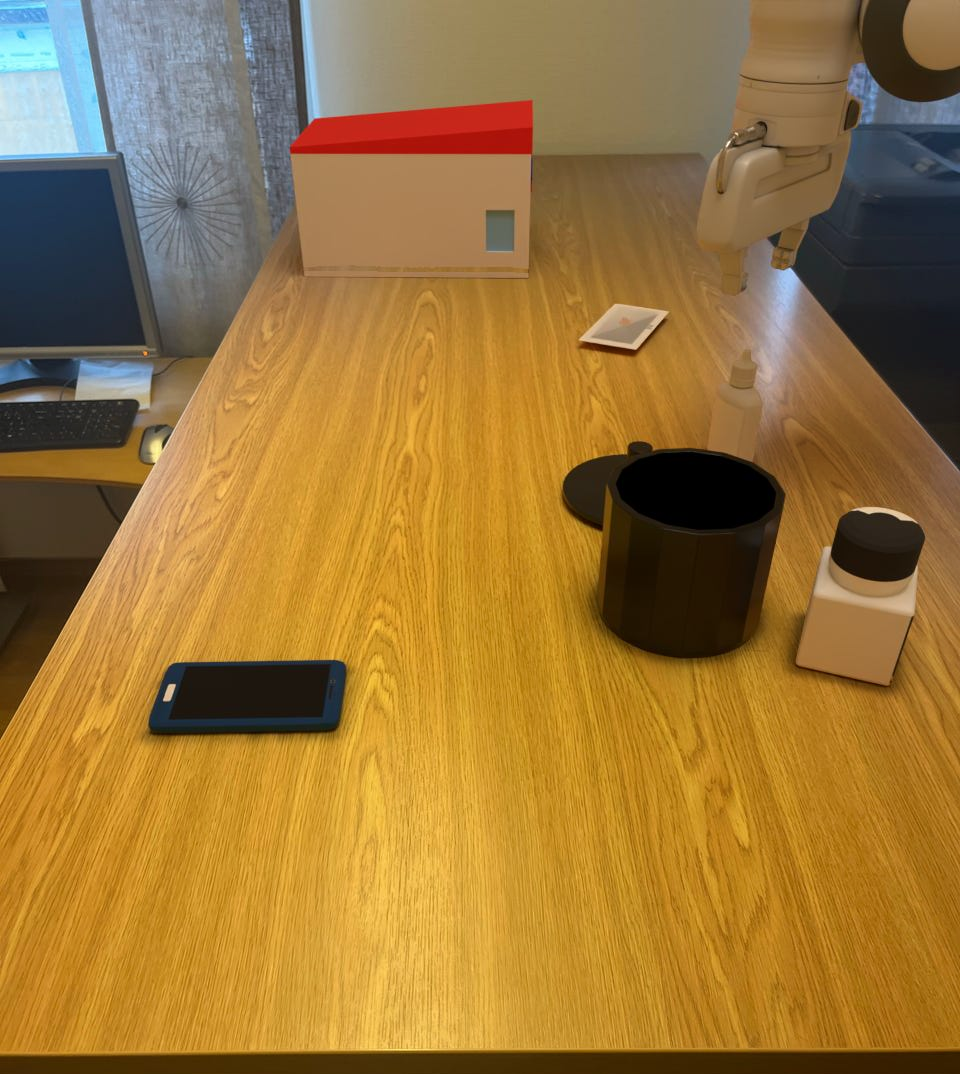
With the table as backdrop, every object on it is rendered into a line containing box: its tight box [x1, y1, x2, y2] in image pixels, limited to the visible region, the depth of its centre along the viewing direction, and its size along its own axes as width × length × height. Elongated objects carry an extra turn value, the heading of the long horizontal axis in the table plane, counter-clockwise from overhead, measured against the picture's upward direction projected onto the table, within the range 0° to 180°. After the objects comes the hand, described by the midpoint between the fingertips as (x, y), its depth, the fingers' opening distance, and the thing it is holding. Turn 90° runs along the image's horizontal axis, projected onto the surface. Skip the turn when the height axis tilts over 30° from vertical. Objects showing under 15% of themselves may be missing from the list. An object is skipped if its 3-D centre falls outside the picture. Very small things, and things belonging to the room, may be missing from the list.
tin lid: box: [561, 440, 654, 527], centre depth 95 cm, size 14×14×6 cm
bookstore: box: [289, 99, 534, 279], centre depth 152 cm, size 21×35×21 cm, turn 88°
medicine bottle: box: [795, 506, 926, 686], centre depth 74 cm, size 7×7×12 cm
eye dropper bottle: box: [706, 348, 764, 463], centre depth 99 cm, size 4×6×12 cm
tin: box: [596, 447, 786, 659], centre depth 79 cm, size 13×13×12 cm
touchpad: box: [578, 303, 670, 351], centre depth 131 cm, size 8×15×2 cm, turn 155°
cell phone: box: [147, 659, 347, 734], centre depth 73 cm, size 7×14×1 cm, turn 91°
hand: (757, 280), depth 91 cm, fingers open, 8 cm apart
